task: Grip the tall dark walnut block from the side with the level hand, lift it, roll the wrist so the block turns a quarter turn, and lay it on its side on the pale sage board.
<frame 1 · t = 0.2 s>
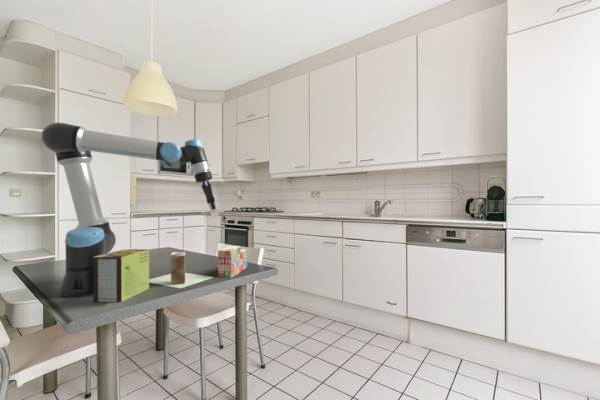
hand: (215, 216, 138), 27 cm above the table, tool tilted 15°, fingers open, 13 cm apart
stack of blocks: (233, 272, 139), on the table
walnut block: (178, 282, 119), point 1 cm above the table, touching sage board
protein box: (122, 296, 105), on the table
sage board: (179, 280, 125), on the table
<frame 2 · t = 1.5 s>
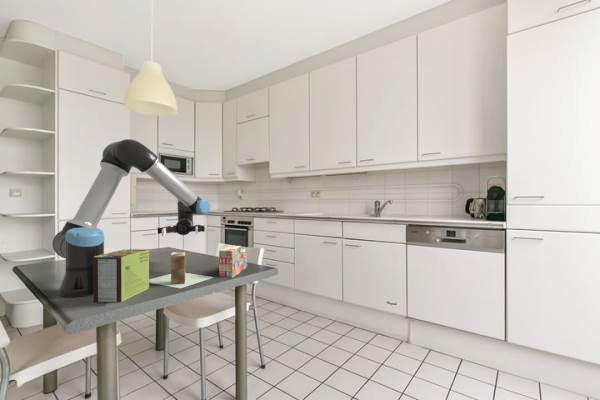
hand: (179, 231, 128), 20 cm above the table, tool horizontal, fingers open, 13 cm apart
nothing on the table moved.
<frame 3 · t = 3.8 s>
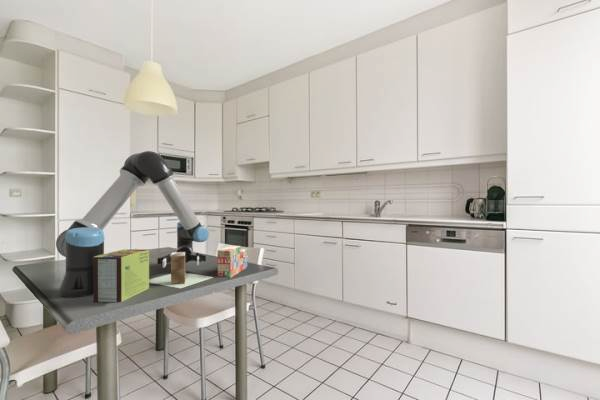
hand: (181, 263, 125), 7 cm above the table, tool horizontal, fingers open, 13 cm apart
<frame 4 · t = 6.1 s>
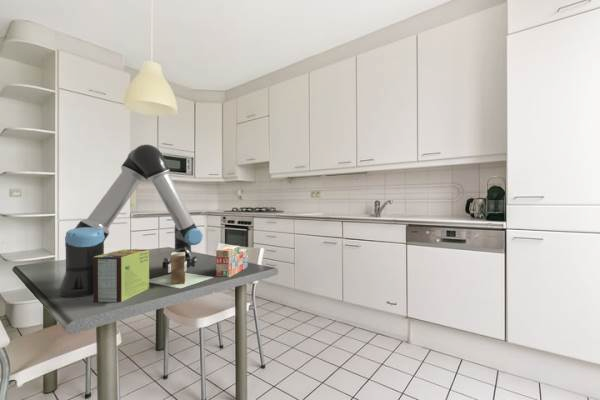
hand: (177, 268, 114), 7 cm above the table, tool horizontal, fingers closed on walnut block, 5 cm apart
walnut block: (178, 282, 119), point 1 cm above the table, touching gripper, sage board
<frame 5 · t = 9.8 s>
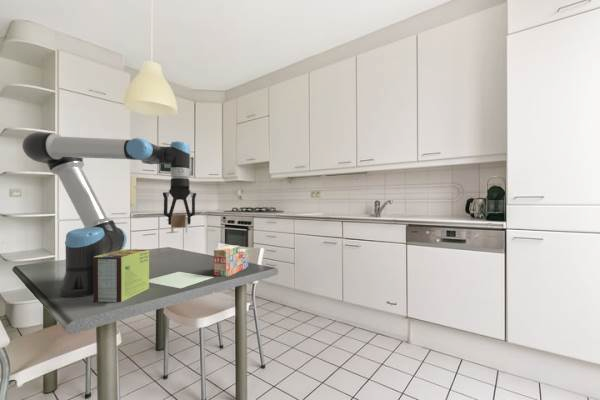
hand: (179, 232, 126), 20 cm above the table, tool pointing down, fingers closed on walnut block, 5 cm apart
walnut block: (178, 221, 120), point 25 cm above the table, tilted 90°, touching gripper
when the fingers open (2 cm above the table, at t = 13.6 s): walnut block drops 4 cm, resting on sage board.
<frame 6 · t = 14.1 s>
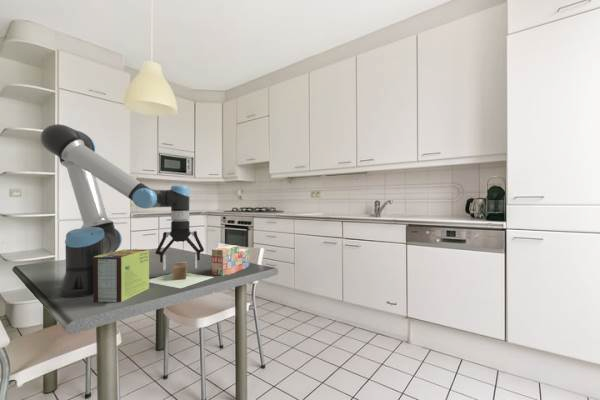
hand: (180, 268, 130), 4 cm above the table, tool pointing down, fingers open, 12 cm apart
walnut block: (179, 273, 124), point 3 cm above the table, tilted 90°, touching sage board
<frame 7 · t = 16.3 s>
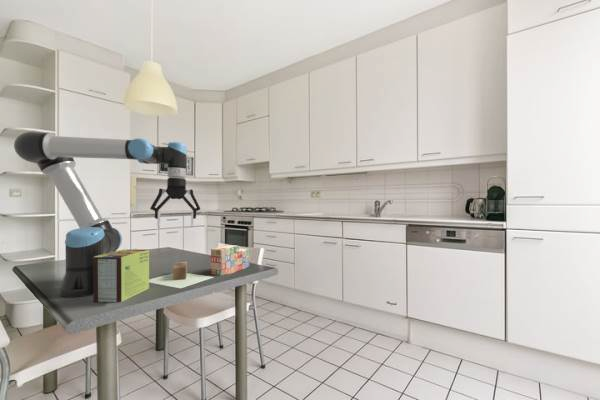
hand: (175, 226, 129), 23 cm above the table, tool pointing down, fingers open, 13 cm apart
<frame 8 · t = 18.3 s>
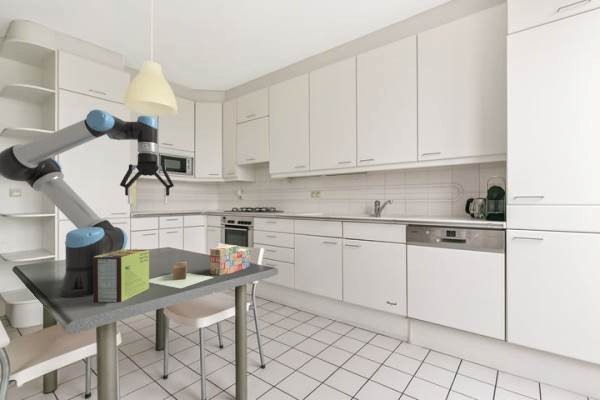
hand: (147, 203, 125), 33 cm above the table, tool pointing down, fingers open, 13 cm apart
at the end: walnut block tilted 90°; the gripper is holding nothing; walnut block inside the target area on the sage board (1.2 cm from its centre), point 3.1 cm above the sage board's base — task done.
